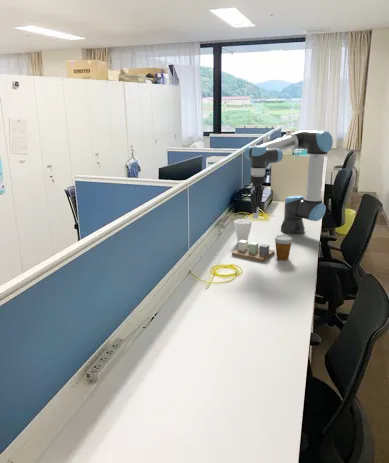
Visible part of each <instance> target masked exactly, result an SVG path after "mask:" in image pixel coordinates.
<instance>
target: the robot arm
mask: <svg viewBox="0 0 389 463" xmlns="http://www.w3.org/2000/svg"><path fill="white" fill-rule="evenodd" d="M333 141H334V140H333V136H332V134H331V133H330V132H328V131H326V130H321V129H320V130H316V129H315V130H313V129H303V130H299V131H295V132H292V133H289V134H288V135H286V136H285V137H282V138H278V139H276V140H272V141H269V142H266V143H262V144H260V145H253V146H252V145H251V146H247V147H245V150H244V157H245V159H247V160H249V161H250V162H251V165H250V166H251V167H250V180H249V181H250V183H251V184H252V185H251V186H252V188H251V189H249V195H250V205H251V207H252V219H256V220H258V219H259V215H260V214H259V213H260V207H262V201H263V194H264V190H265V187H264V186H263V184H264V183H265V182H266V181H265V179H266V165H267V164H277V163H280V162H281V161H282V160H283V155H284V154H283V152H284V151H285V152H286V151H288V150H291V151H292V150H299V149H300V150H305V151H306V155H307V156H308V166H307V167H308V168H307V178H306V179H307V180H306V190H305V196H304V195H299V194H298V195H296V194H295V195H289V196H287V197H285V200H284V216H283V221H282V224H281V226H280V231H281V232H283V233H285V234H289V235H298V234H303V233H304V232H305V224H304V220H309V221H311V222H312V221H313V222H318V221H320V220H321V219H322V218H323V217H324V216H325V214H326V211H327V208H326V205H325V203H323V200H324V199H323V197H321V194H322V184H323V173H324V172H323V171H324V164H325V157H326V156H327V155H328V152H330V151H331V150H332V147H333V143H334V142H333ZM303 219H304V220H303Z"/></svg>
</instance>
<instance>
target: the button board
mask: <svg viewBox="0 0 389 463" xmlns="http://www.w3.org/2000/svg"><path fill="white" fill-rule="evenodd" d="M275 252H276V249H275V250H273V249H270V248H269V254H268V255H266V256H264V255H260V254H259V246H258V252H257V253H250V252H249V244H248V249H247V250H245V251H241V250H238V248H236V249H235V250H233V251H232V252H231V256H232V257H237V258H242V259H246V260H249V261H255V262H258V263H265V262H266V261H267V260H268V259H270V258H271V257H272V256H275Z"/></svg>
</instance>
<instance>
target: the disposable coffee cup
mask: <svg viewBox="0 0 389 463" xmlns="http://www.w3.org/2000/svg"><path fill="white" fill-rule="evenodd" d="M274 242H275V252H276V259H277V260H279V261H288V260H289V257H290V254H291V248H292V243H293V238H292V236H289V235H286V234H280V235H276V236H275V237H274Z"/></svg>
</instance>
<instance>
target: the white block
mask: <svg viewBox="0 0 389 463" xmlns="http://www.w3.org/2000/svg"><path fill="white" fill-rule="evenodd" d="M248 245H249V240H248V241H246V240H240V241H239V242H238V243H237V246H238V248H237V249H238V250H241V251H245V250H247V249H248Z"/></svg>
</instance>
